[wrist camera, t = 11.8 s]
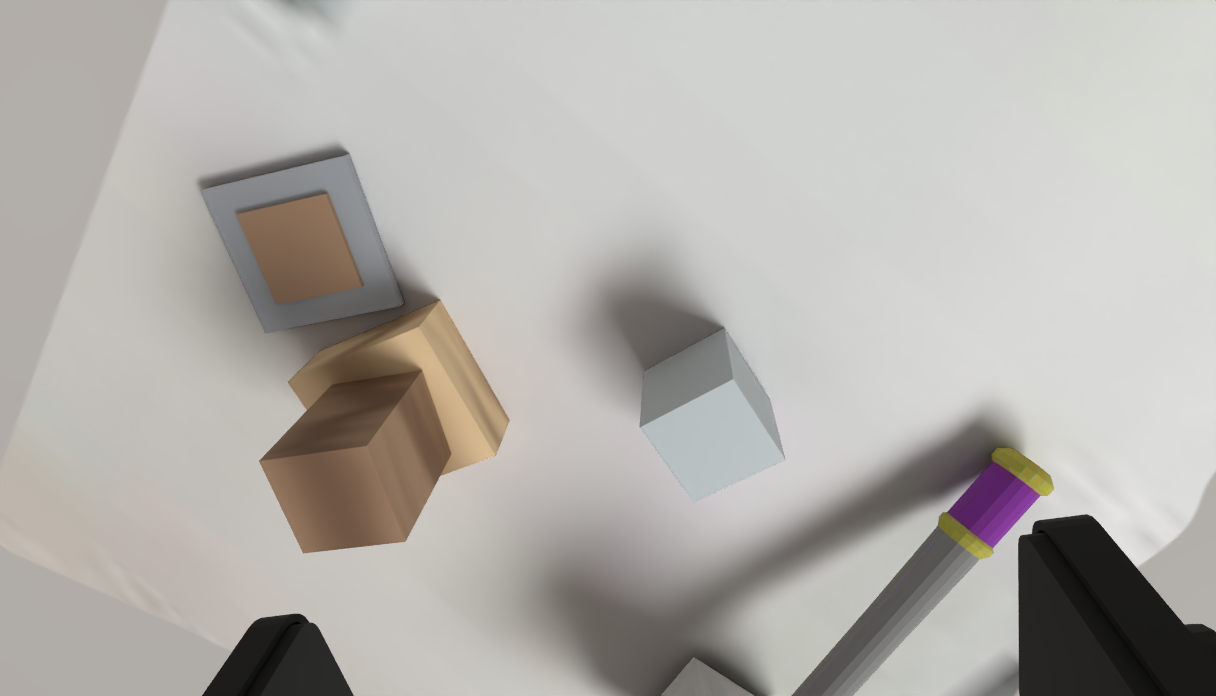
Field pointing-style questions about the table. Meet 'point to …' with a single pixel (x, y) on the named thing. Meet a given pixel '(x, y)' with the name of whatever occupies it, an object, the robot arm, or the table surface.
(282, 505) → the walnut block
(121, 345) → the table surface
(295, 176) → the swatch tile
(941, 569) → the hammer
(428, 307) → the oak base
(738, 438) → the grey block
